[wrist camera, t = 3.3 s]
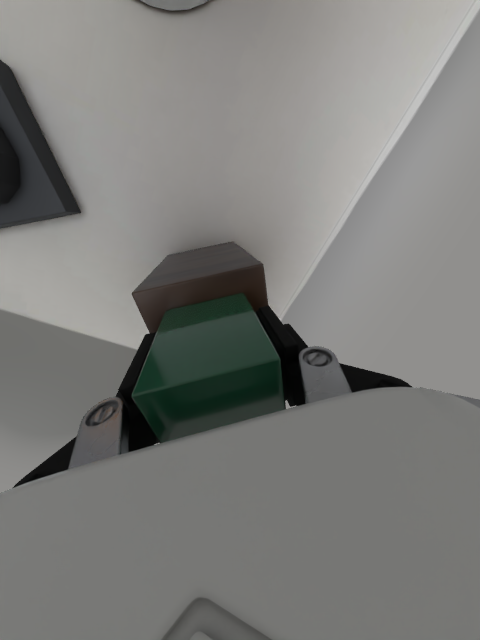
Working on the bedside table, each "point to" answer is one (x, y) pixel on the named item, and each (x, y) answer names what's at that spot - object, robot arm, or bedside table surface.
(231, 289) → the brown rectangular block
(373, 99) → the bedside table surface
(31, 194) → the push button base
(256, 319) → the green block
